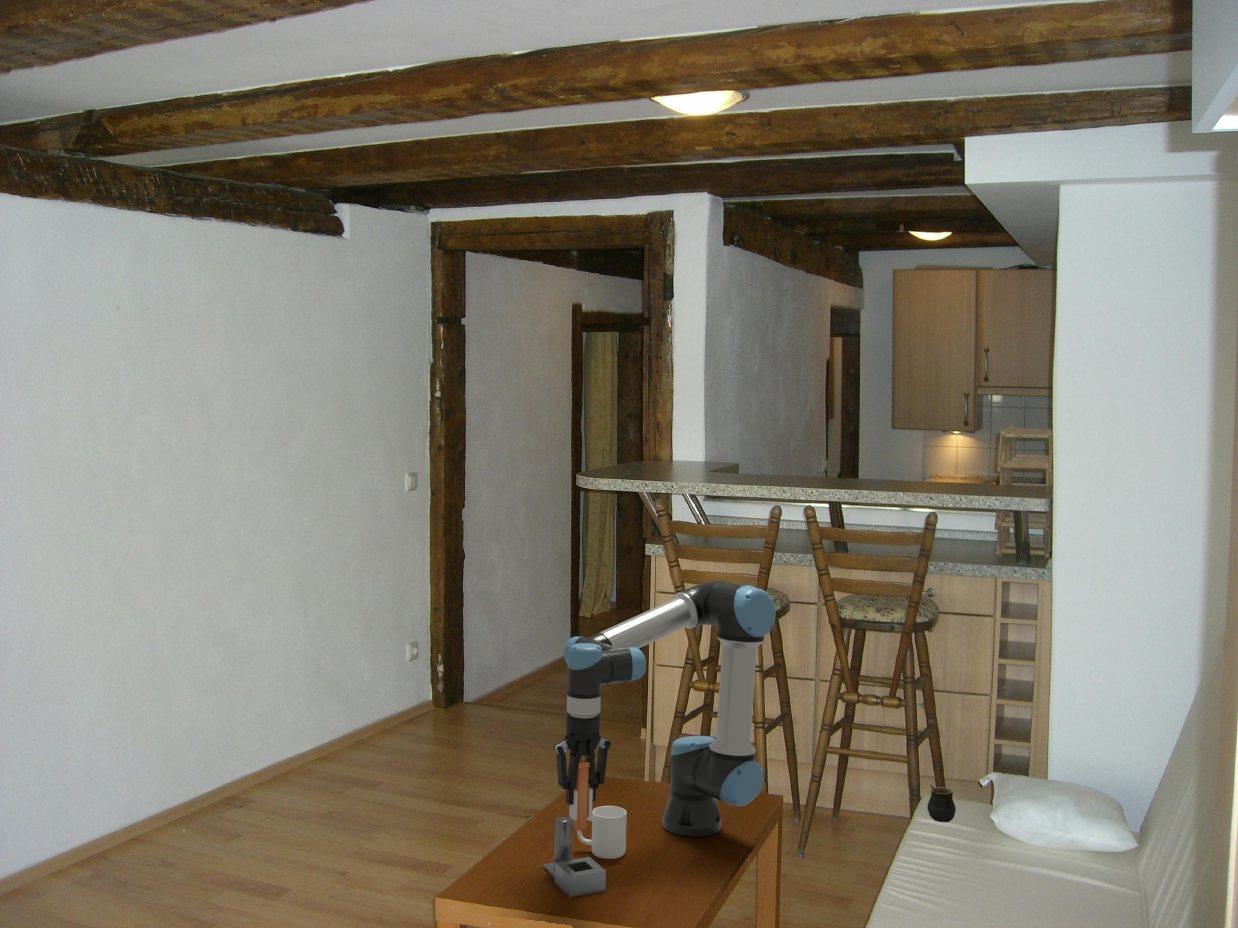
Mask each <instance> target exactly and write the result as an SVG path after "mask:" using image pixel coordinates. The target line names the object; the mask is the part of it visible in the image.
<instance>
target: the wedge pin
mask: <svg viewBox="0 0 1238 928" xmlns="http://www.w3.org/2000/svg"><path fill="white" fill-rule="evenodd" d="M589 767H590V764H589V762H588V761H587V760H585V759H584V760H583V759H581V760H580V761H579V766H578V772H577V779H576V785H575V789H576V790H577V791H578V806H577V820H573V829H574V830H575V831H576V832H577V831H581V832H582V831H587V829H588V820H587V809H588V786H589V784H588V774H589Z"/></svg>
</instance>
